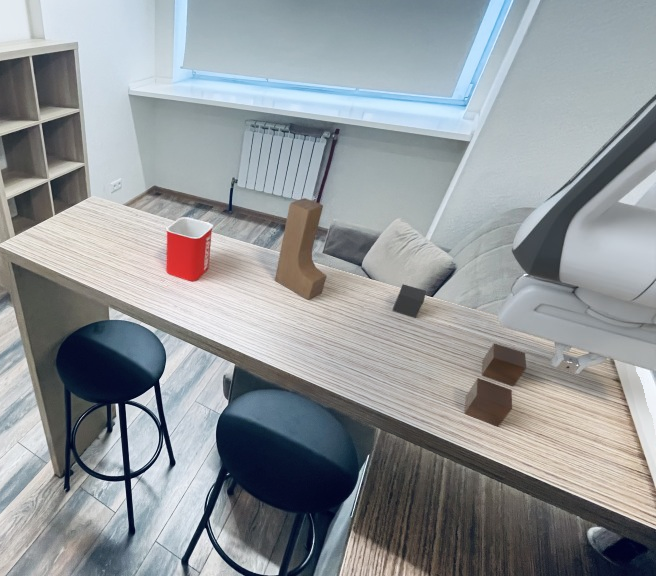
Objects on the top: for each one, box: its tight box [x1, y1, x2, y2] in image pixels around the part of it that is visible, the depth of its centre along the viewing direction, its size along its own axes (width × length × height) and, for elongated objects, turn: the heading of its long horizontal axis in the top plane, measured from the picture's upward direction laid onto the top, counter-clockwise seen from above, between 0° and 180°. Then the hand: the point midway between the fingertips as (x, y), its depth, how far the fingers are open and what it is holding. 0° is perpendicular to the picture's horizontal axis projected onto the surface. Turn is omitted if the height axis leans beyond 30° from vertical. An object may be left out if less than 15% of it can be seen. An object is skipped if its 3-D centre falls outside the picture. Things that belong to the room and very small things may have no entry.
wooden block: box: [274, 197, 328, 301], centre depth 81 cm, size 9×4×18 cm, turn 34°
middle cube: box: [481, 342, 527, 387], centre depth 64 cm, size 4×4×4 cm
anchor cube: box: [392, 284, 427, 319], centre depth 78 cm, size 4×4×4 cm
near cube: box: [464, 377, 513, 428], centre depth 58 cm, size 4×4×4 cm
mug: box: [165, 216, 214, 282], centre depth 90 cm, size 12×8×11 cm
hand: (563, 368), depth 60 cm, fingers closed
